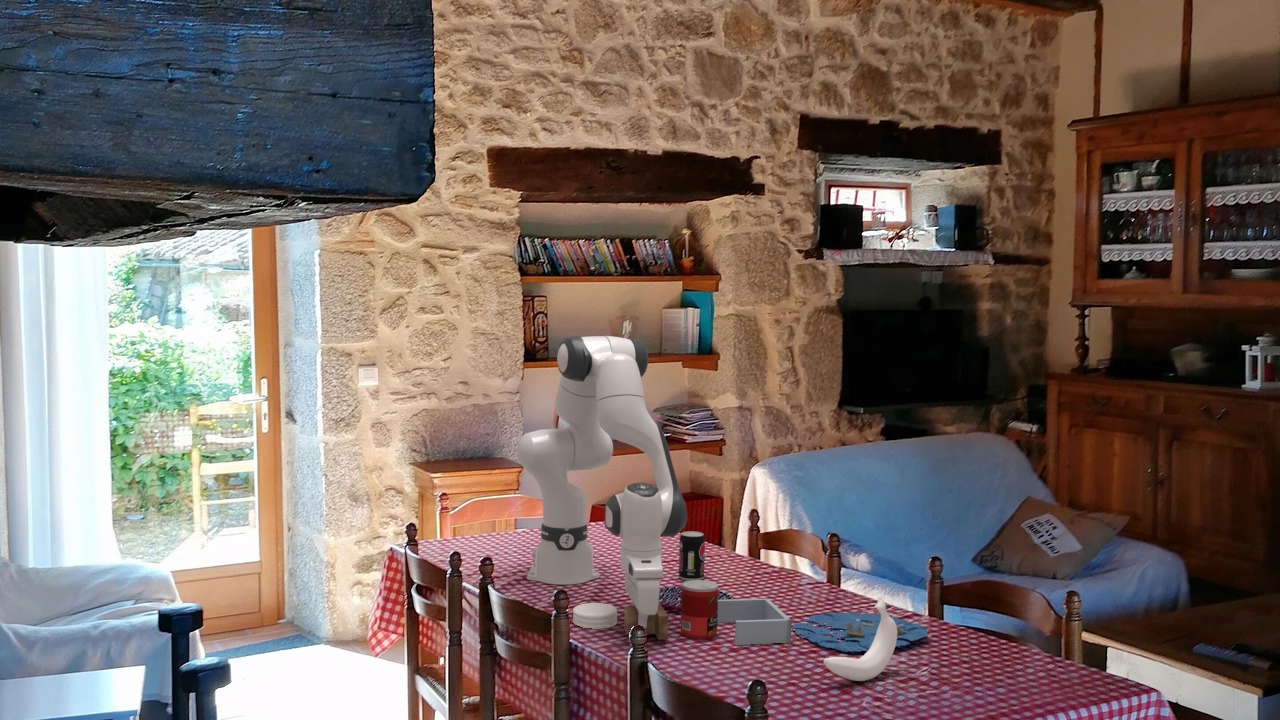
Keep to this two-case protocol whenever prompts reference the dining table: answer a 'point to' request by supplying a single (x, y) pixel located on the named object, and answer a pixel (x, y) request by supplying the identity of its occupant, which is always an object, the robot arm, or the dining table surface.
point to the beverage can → (691, 556)
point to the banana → (869, 652)
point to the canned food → (699, 609)
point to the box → (755, 621)
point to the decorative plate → (854, 630)
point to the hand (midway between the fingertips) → (639, 623)
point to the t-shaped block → (648, 621)
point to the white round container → (595, 615)
